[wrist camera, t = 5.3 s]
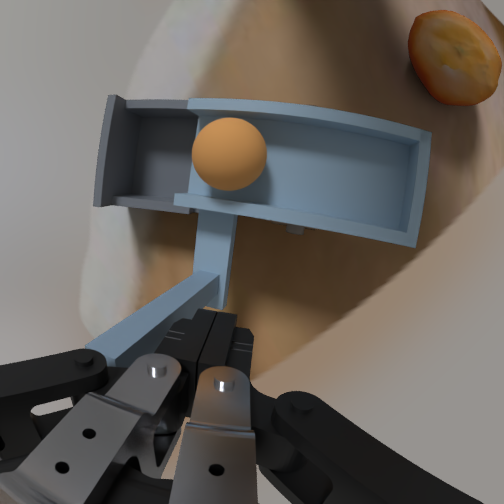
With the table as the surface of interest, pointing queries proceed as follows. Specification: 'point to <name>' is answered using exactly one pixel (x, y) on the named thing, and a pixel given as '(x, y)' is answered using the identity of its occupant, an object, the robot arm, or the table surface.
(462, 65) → the fruit
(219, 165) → the ball
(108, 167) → the tray
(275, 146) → the lever
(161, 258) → the table surface
